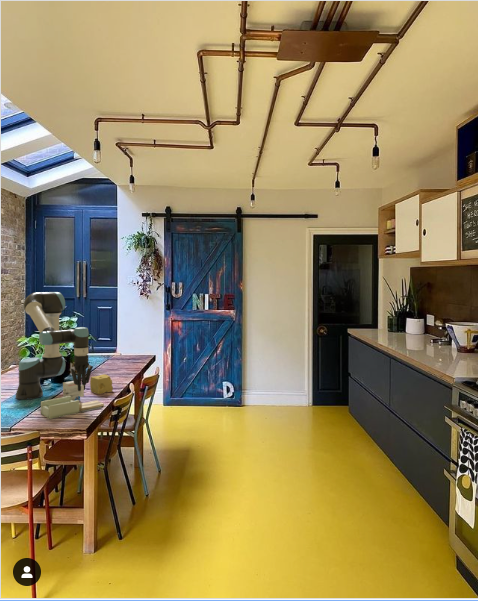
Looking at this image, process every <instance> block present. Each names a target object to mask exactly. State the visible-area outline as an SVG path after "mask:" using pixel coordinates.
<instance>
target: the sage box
mask: <svg viewBox="0 0 478 601" xmlns="http://www.w3.org/2000/svg"><path fill="white" fill-rule="evenodd" d="M79 403H80V400H76V401H72V400H71V396H67V397H63V396H62V397H57V398H52V399H45V400H43V401H40V414H41V415H42V416H44V417H45V418H47V419H49V420H52V419H56V418H61V417H66V416H70V415H71V416H72V415H74V414H75V415H76V414H79V413H80V411H79Z"/></svg>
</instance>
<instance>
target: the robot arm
mask: <svg viewBox="0 0 478 601" xmlns="http://www.w3.org/2000/svg"><path fill="white" fill-rule="evenodd" d="M65 309H66V300H65V297H64V295H63V294H62V293H61V292H60V291H59V292H58V291H49V292H48V291H45V292H44V291H43V292H42V291H41V292H32V293H30V294H29V295H28V296H27V297H26V298H25V300H24V302H23V310H24V311H25V313H26V314H27V315H29V317H30V318H31V320H32V321H33V323H34V325H35V326H36V328H37V330H38V332H39V335H38V341H39V343H40V345H42V346H44V353H43V354H42V355H41V358H40V357H36V356H35V357H29V358H24V359H22V360H20V361H19V363H18V386H17V390H16V392H15V399H17V400H22V401H23V400H24V401H25V400H33V399H39V398H40V397H42V396H43V395H44V392H43V388H42V385H41V383H40V382H41V381H40V379H43V378H44V379H45V378H50V377H57V376H61V375H62V374H64V372H65V370H66V360H65V358H64V356H63V354H62V353H60V344H70V343H71V344H72V343H73V345H74V346H73V348H74V350H73V355H74V356H73V361H74V364H73V366H72V367H70V368H69V371H70V373H71V376H72V381H74V384H76V385H78V391H79V396H80V398H84V397H85V391H86V385H87V384H88V383H90V379H91V373H92V370H93V369H94V368H93V367H94V366H93V365H90V363H89V335H90V333H89V329H88V327H84V326H80V327H79V326H78V327H75V328H68V329H65V330H63V329H62V330H60V315H61V314H62V311H64V310H65Z"/></svg>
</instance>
